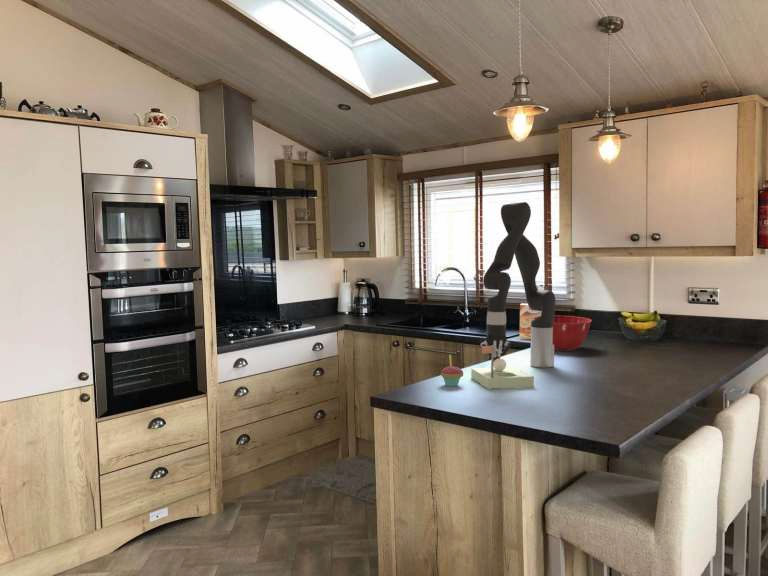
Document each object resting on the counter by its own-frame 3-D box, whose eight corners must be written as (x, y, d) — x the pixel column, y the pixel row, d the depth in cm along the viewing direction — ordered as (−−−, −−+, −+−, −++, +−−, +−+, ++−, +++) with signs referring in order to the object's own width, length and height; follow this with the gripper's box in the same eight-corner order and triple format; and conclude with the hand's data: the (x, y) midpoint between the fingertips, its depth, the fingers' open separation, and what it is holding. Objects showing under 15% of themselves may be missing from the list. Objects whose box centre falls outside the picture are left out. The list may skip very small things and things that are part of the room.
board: (513, 376, 253) (514, 337, 251) (533, 387, 234) (534, 344, 233) (466, 378, 249) (466, 338, 248) (482, 389, 230) (483, 346, 229)
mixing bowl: (598, 354, 303) (599, 322, 302) (539, 353, 304) (540, 322, 303) (581, 344, 331) (582, 315, 330) (527, 344, 332) (527, 315, 331)
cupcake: (436, 383, 240) (437, 352, 239) (456, 381, 243) (457, 351, 242) (447, 388, 232) (447, 356, 231) (467, 386, 235) (467, 354, 234)
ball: (502, 362, 247) (506, 355, 243) (505, 373, 244) (509, 366, 240) (490, 362, 246) (493, 356, 242) (493, 373, 243) (496, 367, 239)
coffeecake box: (519, 339, 350) (519, 304, 348) (520, 337, 356) (520, 303, 355) (546, 340, 345) (547, 305, 344) (547, 338, 352) (548, 304, 351)
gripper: (508, 321, 250) (508, 363, 252) (477, 321, 248) (476, 365, 249) (516, 323, 243) (515, 367, 244) (483, 324, 241) (482, 369, 242)
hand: (495, 366), depth 247 cm, fingers closed
